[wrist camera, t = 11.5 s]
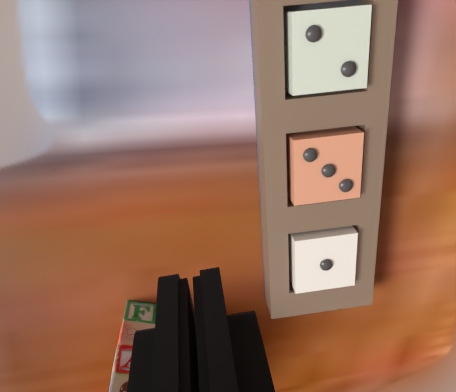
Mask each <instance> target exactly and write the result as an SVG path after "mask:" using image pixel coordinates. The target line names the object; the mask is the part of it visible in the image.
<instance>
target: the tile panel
mask: <svg viewBox="0 0 456 392" xmlns="http://www.w3.org/2000/svg"><path fill="white" fill-rule="evenodd" d="M249 2H250V21H251V39H252V58H253V77H254V96H255V115H256V134H257V152H258V171H259V190H260V209H261V228H262V247H263V265H264V284H265V300H266V303H267V306H268V309H269V313H270V316H271V319H276V318H283V317H290V316H297V315H303V314H310V313H317V312H324V311H331V310H338V309H344V308H351V307H358V306H365V305H372V299H373V287H374V275H375V264H376V252H377V240H378V229H379V217H380V205H381V194H382V182H383V170H384V158H385V147H386V135H387V123H388V112H389V100H390V88H391V77H392V65H393V53H394V42H395V30H396V18H397V7H398V0H249ZM352 5H372V12H371V28H370V44H369V60H368V77H367V88H361V89H352V90H342V91H333V92H324V93H314V94H305V95H295V96H292V95H291V94H290V93H288V92H287V91H285V69H284V23H283V12H286V11H297V10H308V9H319V8H330V7H341V6H352ZM348 126H355V127H356V128H358V129H360V130H361V131H363V132H364V141H363V158H362V174H361V190H360V198H353V199H345V200H337V201H329V202H321V203H313V204H305V205H298V206H294V205H293V203H292V201H291V200H290V198H289V196H288V195H287V161H286V134H287V133H296V132H304V131H313V130H322V129H331V128H340V127H348ZM344 226H353V228H354V229H355V230H356V231H357V232H358V240H357V257H356V273H355V285H354V286H347V287H340V288H333V289H326V290H319V291H312V292H305V293H298V294H295V291H294V289H293V287H292V284H291V282H290V280H289V253H288V234H291V233H299V232H306V231H314V230H322V229H329V228H337V227H344Z"/></svg>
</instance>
